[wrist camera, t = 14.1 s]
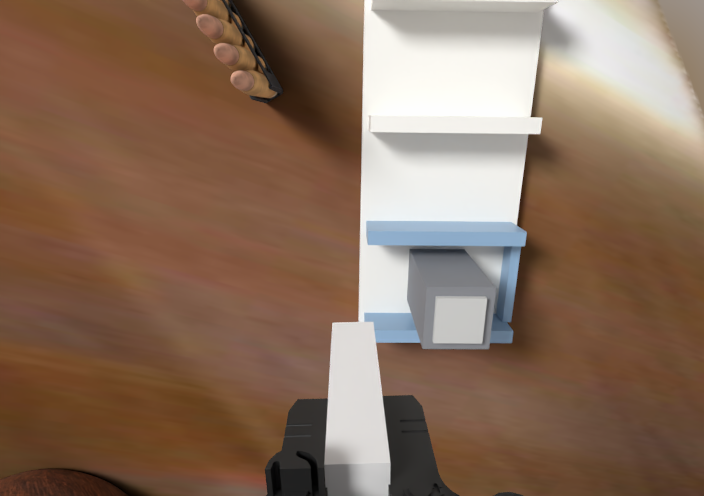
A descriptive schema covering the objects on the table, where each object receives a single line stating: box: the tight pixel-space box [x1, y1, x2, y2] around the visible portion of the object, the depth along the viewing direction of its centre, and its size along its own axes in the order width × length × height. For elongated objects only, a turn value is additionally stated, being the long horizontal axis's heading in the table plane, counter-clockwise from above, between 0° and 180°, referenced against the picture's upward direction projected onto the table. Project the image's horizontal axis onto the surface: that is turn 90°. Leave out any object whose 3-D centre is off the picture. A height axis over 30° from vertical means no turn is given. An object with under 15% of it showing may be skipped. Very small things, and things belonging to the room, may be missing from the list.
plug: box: [407, 249, 496, 349], centre depth 36 cm, size 5×5×9 cm
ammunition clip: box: [183, 0, 283, 103], centre depth 30 cm, size 11×2×12 cm, turn 29°
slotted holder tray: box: [358, 0, 558, 343], centre depth 37 cm, size 30×14×4 cm, turn 179°
